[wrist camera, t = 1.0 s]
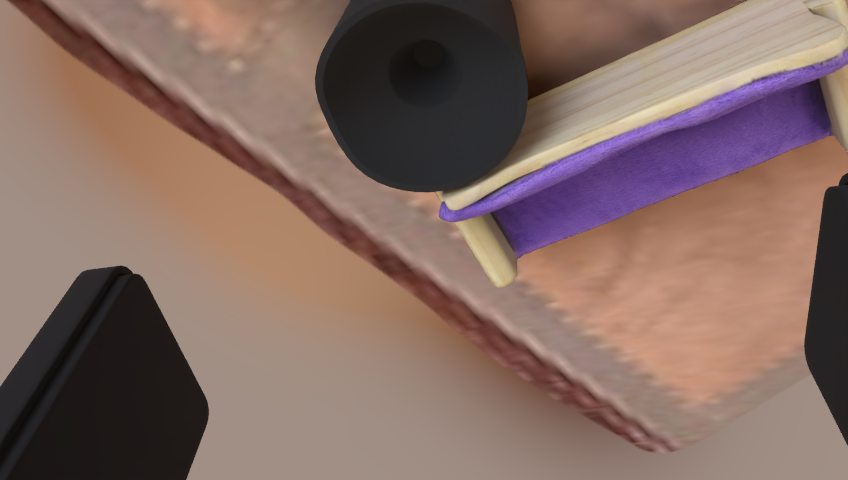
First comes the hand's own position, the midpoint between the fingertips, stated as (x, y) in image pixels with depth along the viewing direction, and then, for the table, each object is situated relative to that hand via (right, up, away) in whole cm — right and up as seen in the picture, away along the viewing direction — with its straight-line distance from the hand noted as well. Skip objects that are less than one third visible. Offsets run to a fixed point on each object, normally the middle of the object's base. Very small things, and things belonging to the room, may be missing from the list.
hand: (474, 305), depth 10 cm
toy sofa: (+11, +9, +32) cm, 35 cm away
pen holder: (0, +13, +30) cm, 33 cm away
